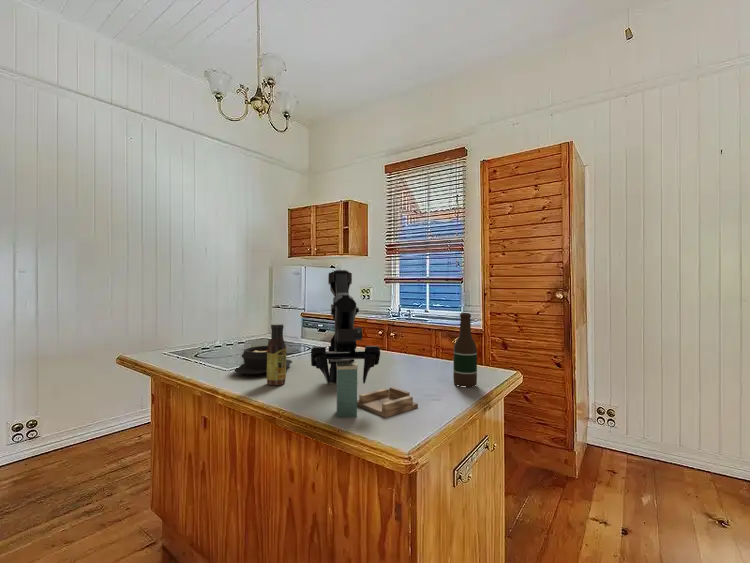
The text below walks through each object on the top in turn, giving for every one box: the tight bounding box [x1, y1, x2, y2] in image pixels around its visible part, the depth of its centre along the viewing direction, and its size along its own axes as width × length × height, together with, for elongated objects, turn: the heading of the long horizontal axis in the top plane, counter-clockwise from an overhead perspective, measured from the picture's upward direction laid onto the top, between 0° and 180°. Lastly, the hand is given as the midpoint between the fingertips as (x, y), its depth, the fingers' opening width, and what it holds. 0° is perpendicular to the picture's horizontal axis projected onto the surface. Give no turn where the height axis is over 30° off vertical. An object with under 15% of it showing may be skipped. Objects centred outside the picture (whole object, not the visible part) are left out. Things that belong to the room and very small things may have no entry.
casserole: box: [233, 345, 293, 375], centre depth 146 cm, size 25×19×8 cm
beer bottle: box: [452, 312, 478, 388], centre depth 127 cm, size 8×8×24 cm
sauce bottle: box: [266, 323, 287, 386], centre depth 127 cm, size 7×6×20 cm
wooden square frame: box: [357, 386, 419, 419], centre depth 105 cm, size 12×13×4 cm
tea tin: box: [336, 361, 359, 419], centre depth 99 cm, size 5×5×13 cm
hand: (346, 383), depth 99 cm, fingers open, 9 cm apart
